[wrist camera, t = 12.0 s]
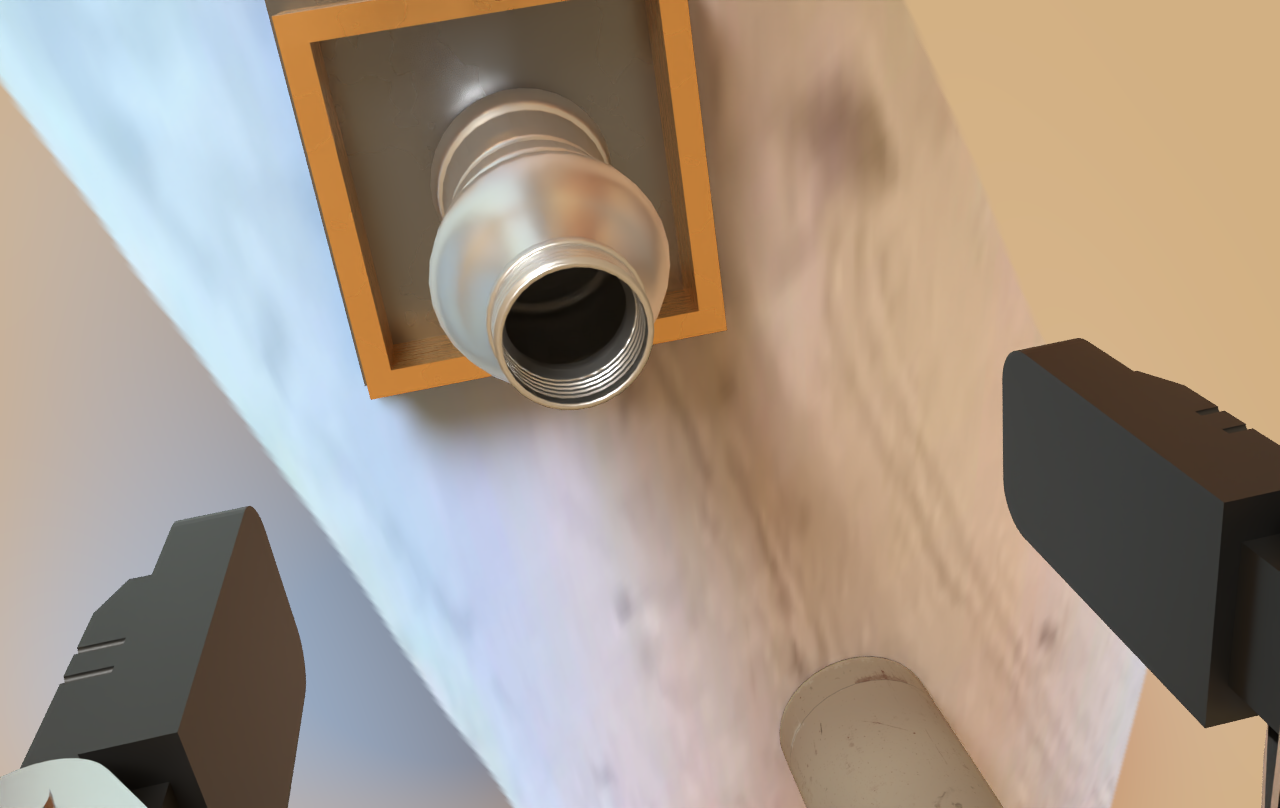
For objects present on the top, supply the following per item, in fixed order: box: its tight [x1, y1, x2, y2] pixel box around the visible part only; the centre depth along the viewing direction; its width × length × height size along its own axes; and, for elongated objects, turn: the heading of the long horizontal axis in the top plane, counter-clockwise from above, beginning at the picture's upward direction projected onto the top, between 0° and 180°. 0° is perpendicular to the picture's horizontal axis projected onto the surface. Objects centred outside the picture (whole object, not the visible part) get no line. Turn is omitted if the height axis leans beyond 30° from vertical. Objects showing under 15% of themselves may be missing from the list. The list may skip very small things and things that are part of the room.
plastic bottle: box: [429, 88, 670, 410], centre depth 35 cm, size 6×7×20 cm
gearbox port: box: [265, 0, 727, 400], centre depth 43 cm, size 15×15×4 cm
